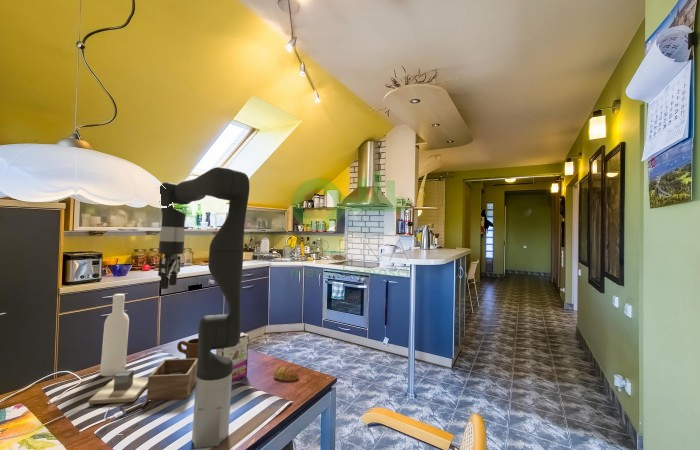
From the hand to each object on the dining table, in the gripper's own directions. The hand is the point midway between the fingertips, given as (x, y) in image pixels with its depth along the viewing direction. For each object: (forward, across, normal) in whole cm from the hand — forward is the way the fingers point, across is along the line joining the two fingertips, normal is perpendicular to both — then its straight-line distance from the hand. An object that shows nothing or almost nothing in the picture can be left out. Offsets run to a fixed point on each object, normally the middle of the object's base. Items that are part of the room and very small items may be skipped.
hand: (168, 286), depth 106 cm
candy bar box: (+37, +9, -21) cm, 43 cm away
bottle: (+36, +21, +24) cm, 48 cm away
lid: (+36, +4, +13) cm, 38 cm away
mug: (+36, +26, -2) cm, 45 cm away
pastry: (+37, +9, -42) cm, 57 cm away
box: (+37, +4, -3) cm, 37 cm away
